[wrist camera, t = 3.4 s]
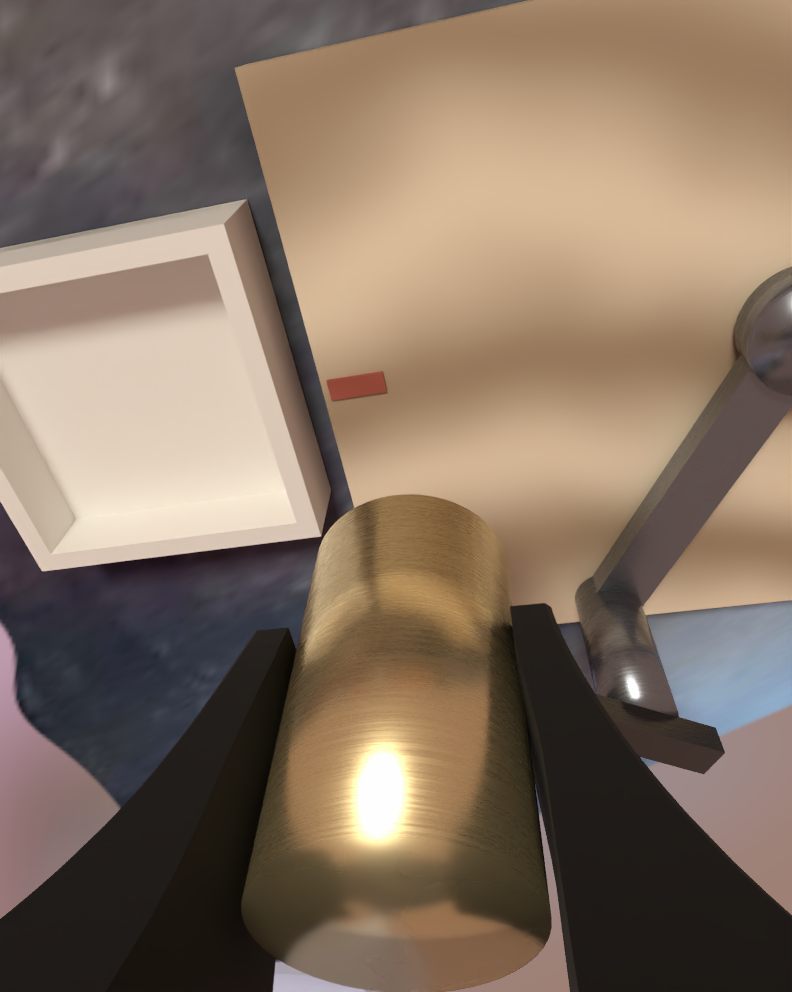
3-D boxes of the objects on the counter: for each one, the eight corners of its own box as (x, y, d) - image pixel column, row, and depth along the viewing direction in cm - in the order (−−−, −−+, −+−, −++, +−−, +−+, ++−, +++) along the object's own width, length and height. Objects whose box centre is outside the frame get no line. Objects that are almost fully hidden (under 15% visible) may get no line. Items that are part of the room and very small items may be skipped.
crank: (764, 237, 17) (887, 328, 13) (905, 293, 18) (1073, 401, 13) (537, 600, 24) (561, 748, 19) (644, 632, 25) (693, 784, 20)
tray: (331, 490, 24) (321, 536, 22) (74, 524, 25) (41, 571, 23) (247, 199, 19) (223, 223, 17) (-68, 261, 20) (-126, 291, 18)
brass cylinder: (516, 632, 16) (561, 989, 10) (340, 650, 17) (288, 997, 11) (497, 481, 14) (538, 827, 8) (294, 508, 14) (197, 848, 9)
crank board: (855, 567, 25) (874, 593, 24) (392, 617, 27) (390, 643, 26) (993, -105, 15) (1036, -114, 14) (246, 64, 17) (233, 68, 16)
